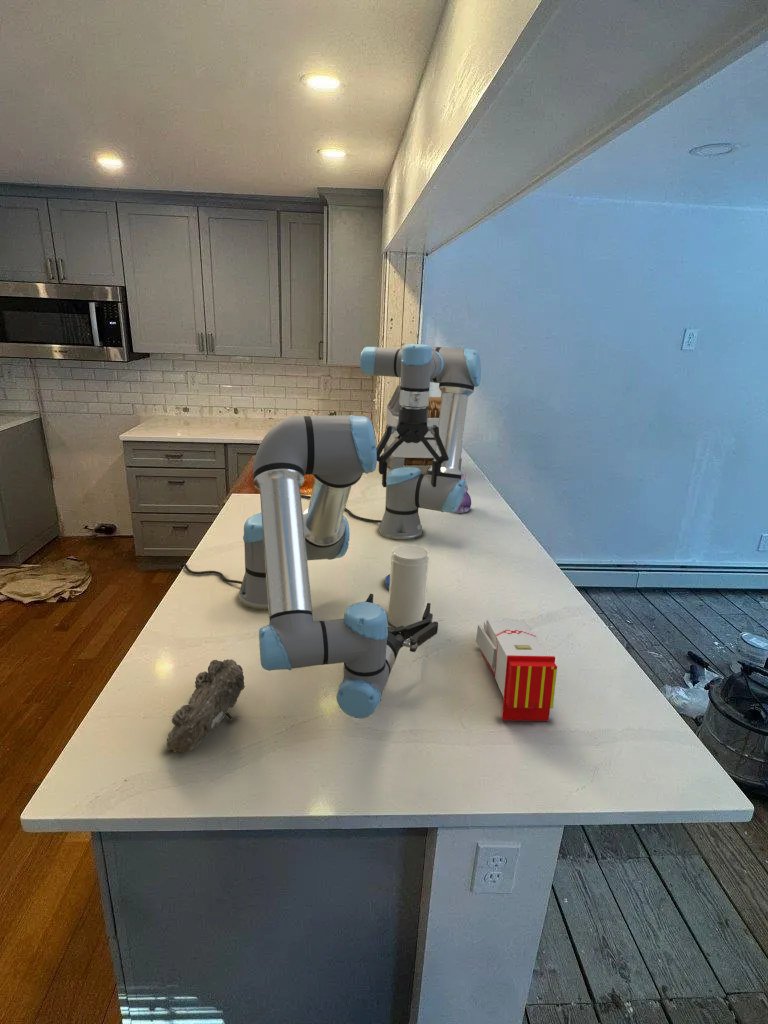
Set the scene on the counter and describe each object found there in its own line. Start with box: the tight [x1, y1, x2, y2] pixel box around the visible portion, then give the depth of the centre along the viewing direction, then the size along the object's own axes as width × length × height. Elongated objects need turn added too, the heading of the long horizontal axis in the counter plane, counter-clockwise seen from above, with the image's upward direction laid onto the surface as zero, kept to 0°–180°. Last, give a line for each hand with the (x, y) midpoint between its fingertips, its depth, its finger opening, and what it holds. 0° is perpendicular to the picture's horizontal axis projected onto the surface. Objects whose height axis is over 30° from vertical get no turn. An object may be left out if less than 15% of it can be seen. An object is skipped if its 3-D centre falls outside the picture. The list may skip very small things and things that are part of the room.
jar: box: [387, 544, 430, 628], centre depth 142 cm, size 9×9×19 cm
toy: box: [475, 618, 558, 722], centre depth 122 cm, size 12×13×30 cm
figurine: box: [454, 472, 472, 514], centre depth 224 cm, size 9×10×15 cm
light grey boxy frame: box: [383, 384, 465, 473], centre depth 268 cm, size 34×33×41 cm
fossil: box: [166, 658, 245, 754], centre depth 106 cm, size 22×10×15 cm
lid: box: [384, 573, 390, 590], centre depth 163 cm, size 10×10×2 cm
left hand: (399, 603), depth 132 cm, fingers open, 13 cm apart
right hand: (408, 485), depth 153 cm, fingers open, 13 cm apart
